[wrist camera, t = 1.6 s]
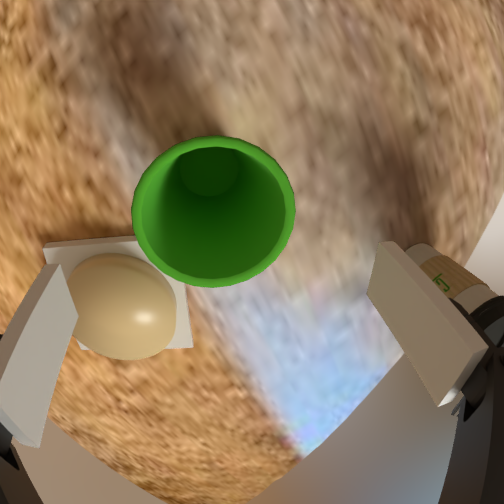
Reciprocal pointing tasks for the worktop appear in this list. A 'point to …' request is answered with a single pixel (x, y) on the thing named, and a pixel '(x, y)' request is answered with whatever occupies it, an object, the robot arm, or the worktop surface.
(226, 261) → the cup
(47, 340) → the robot arm
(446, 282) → the coffee cup
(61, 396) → the worktop surface
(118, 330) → the domed square tile
